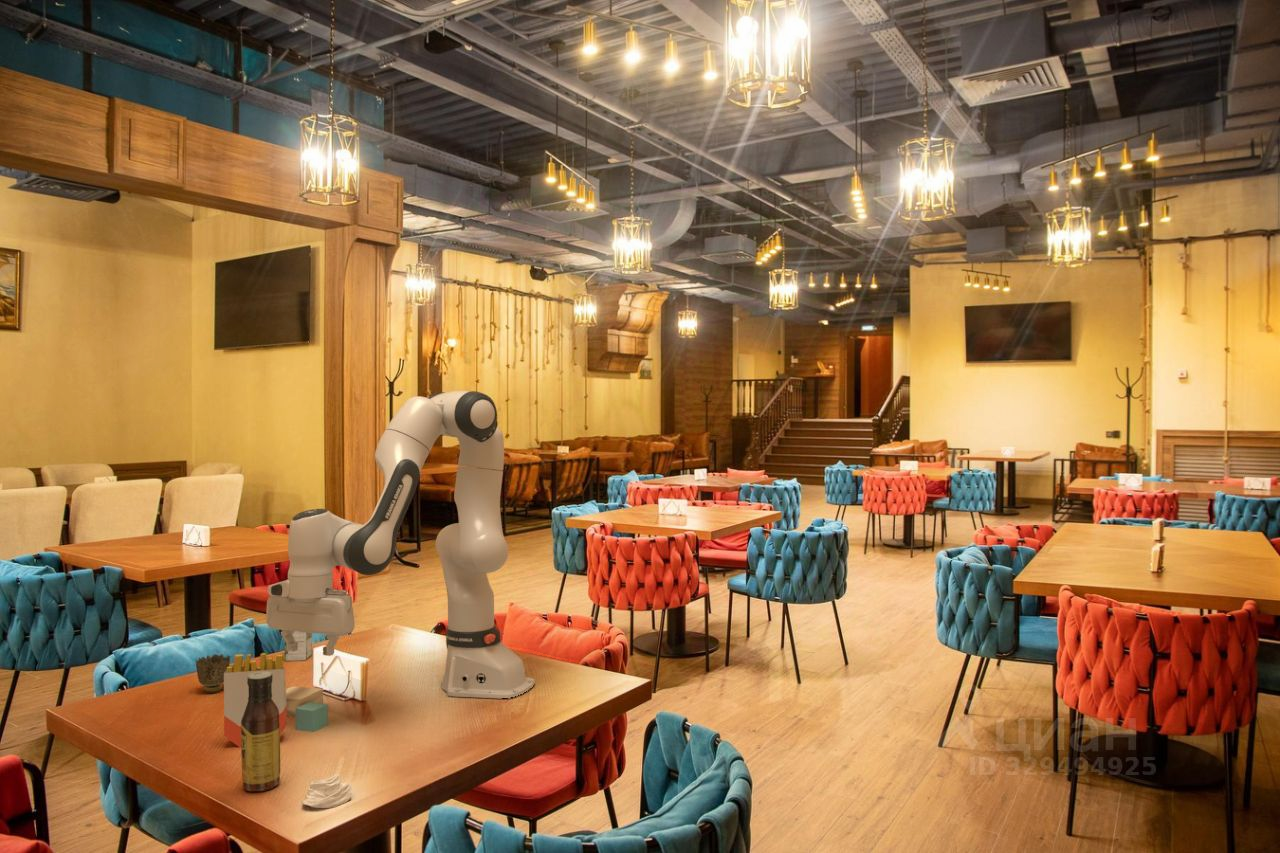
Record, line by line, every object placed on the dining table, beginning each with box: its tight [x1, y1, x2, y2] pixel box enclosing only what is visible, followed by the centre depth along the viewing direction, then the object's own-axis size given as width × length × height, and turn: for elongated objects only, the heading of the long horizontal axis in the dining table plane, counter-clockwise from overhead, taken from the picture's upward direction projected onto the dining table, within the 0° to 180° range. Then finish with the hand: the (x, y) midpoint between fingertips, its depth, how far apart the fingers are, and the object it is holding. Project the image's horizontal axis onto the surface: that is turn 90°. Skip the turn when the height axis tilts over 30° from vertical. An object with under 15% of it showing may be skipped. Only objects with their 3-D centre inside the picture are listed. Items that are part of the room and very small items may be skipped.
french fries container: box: [223, 652, 288, 748], centre depth 171 cm, size 5×11×18 cm, turn 104°
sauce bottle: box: [240, 671, 281, 792], centre depth 150 cm, size 6×6×20 cm
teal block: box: [295, 702, 329, 733], centre depth 179 cm, size 4×4×4 cm
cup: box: [195, 653, 231, 694], centre depth 204 cm, size 8×7×8 cm
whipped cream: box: [301, 773, 353, 809], centre depth 144 cm, size 8×7×5 cm
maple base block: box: [286, 686, 324, 718], centre depth 191 cm, size 8×8×4 cm
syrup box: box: [284, 631, 313, 662], centre depth 232 cm, size 6×6×14 cm
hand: (310, 652), depth 180 cm, fingers open, 8 cm apart
